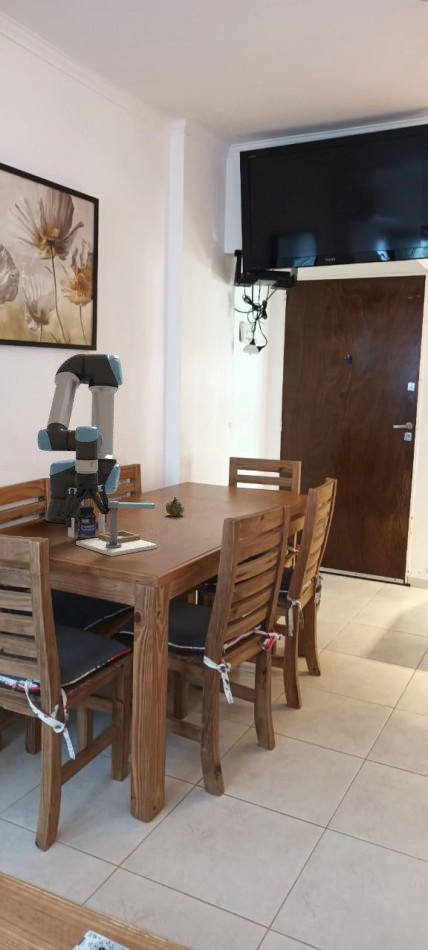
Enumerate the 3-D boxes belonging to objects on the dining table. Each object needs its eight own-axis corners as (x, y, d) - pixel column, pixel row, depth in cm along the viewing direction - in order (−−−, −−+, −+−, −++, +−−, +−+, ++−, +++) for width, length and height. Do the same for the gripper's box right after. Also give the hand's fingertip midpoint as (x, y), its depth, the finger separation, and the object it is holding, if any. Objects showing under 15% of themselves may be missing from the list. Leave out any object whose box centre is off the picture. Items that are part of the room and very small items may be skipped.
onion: (188, 515, 290) (188, 496, 289) (177, 518, 283) (177, 498, 282) (173, 513, 294) (173, 494, 293) (162, 515, 287) (162, 496, 286)
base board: (76, 544, 233) (76, 503, 231) (120, 537, 246) (120, 498, 244) (111, 556, 219) (111, 512, 217) (156, 547, 231) (157, 506, 229)
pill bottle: (80, 540, 239) (80, 508, 237) (75, 537, 244) (75, 505, 243) (98, 539, 242) (98, 507, 240) (92, 535, 247) (92, 504, 246)
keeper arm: (107, 508, 223) (107, 502, 223) (109, 506, 227) (109, 500, 226) (153, 509, 223) (153, 503, 222) (155, 507, 226) (155, 501, 226)
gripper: (61, 475, 229) (62, 541, 232) (122, 470, 246) (121, 531, 248) (49, 473, 234) (50, 537, 237) (109, 468, 251) (109, 528, 254)
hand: (86, 534), depth 243 cm, fingers open, 12 cm apart
